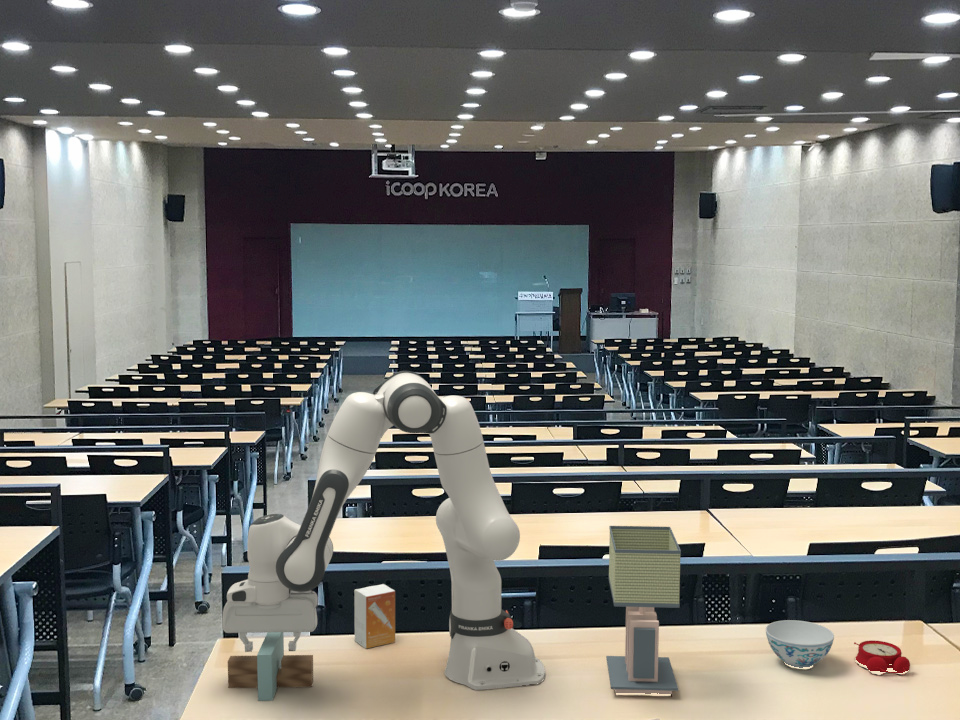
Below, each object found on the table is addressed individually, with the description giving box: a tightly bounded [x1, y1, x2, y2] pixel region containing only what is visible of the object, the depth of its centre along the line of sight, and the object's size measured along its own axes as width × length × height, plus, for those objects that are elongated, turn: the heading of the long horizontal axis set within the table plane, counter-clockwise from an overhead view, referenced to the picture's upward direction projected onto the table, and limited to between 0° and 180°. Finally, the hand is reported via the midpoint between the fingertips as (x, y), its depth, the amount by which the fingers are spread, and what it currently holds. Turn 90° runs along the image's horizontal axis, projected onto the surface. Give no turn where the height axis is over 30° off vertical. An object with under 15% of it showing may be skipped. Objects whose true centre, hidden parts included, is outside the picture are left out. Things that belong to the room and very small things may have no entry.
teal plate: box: [256, 632, 285, 702], centre depth 230 cm, size 3×16×10 cm, turn 2°
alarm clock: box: [853, 640, 911, 674], centre depth 241 cm, size 10×6×15 cm
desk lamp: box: [606, 525, 682, 695], centre depth 230 cm, size 18×14×33 cm
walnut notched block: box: [227, 654, 314, 689], centre depth 230 cm, size 18×3×6 cm, turn 92°
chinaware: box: [765, 619, 835, 668], centre depth 242 cm, size 15×15×8 cm
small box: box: [353, 583, 396, 650], centre depth 254 cm, size 8×6×13 cm
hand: (270, 650), depth 230 cm, fingers open, 8 cm apart
